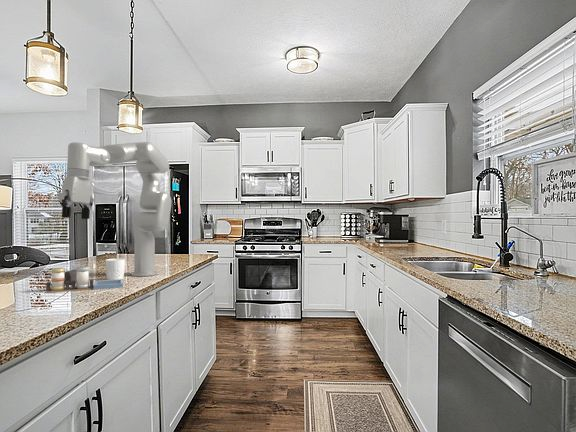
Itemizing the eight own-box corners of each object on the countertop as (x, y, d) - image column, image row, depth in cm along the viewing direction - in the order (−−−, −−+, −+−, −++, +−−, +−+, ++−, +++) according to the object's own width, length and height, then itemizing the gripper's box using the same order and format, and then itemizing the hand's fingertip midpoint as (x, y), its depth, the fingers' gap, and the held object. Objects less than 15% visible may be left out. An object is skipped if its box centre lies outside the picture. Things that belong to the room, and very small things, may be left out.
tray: (95, 288, 139) (95, 281, 139) (122, 286, 143) (122, 279, 143) (93, 293, 130) (93, 285, 130) (122, 291, 134) (122, 283, 134)
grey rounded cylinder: (76, 287, 133) (77, 266, 134) (89, 286, 135) (89, 266, 135) (75, 289, 130) (75, 268, 130) (88, 288, 132) (88, 267, 132)
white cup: (105, 280, 156) (106, 258, 156) (125, 279, 160) (125, 258, 160) (104, 283, 149) (105, 260, 149) (124, 282, 152) (125, 259, 153)
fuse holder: (49, 292, 132) (49, 280, 132) (93, 288, 139) (93, 277, 139) (43, 297, 123) (44, 284, 123) (91, 293, 130) (92, 281, 130)
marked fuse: (52, 289, 130) (52, 268, 130) (65, 288, 132) (65, 267, 132) (50, 291, 126) (50, 269, 126) (63, 290, 128) (63, 268, 128)
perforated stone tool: (78, 282, 152) (78, 266, 152) (90, 282, 153) (91, 266, 153) (58, 289, 137) (58, 272, 138) (72, 289, 138) (72, 272, 138)
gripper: (85, 178, 144) (84, 219, 143) (51, 170, 127) (48, 217, 126) (102, 178, 142) (100, 219, 142) (69, 170, 125) (66, 217, 125)
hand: (76, 218), depth 134 cm, fingers open, 9 cm apart
